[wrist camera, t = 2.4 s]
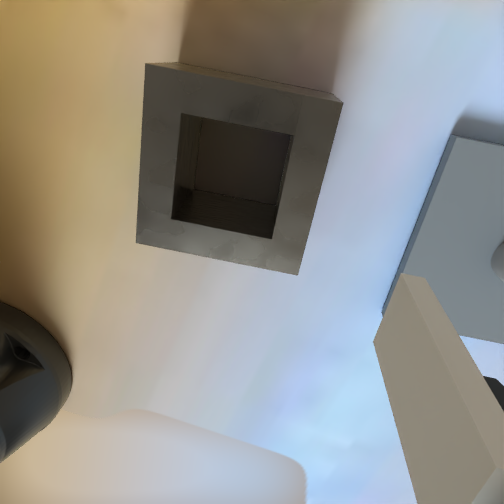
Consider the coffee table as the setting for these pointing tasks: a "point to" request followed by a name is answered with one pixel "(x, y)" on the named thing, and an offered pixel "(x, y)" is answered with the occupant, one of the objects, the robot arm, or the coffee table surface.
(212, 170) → the coffee table surface
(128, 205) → the coffee table surface
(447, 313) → the keeper
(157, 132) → the hollow square block
